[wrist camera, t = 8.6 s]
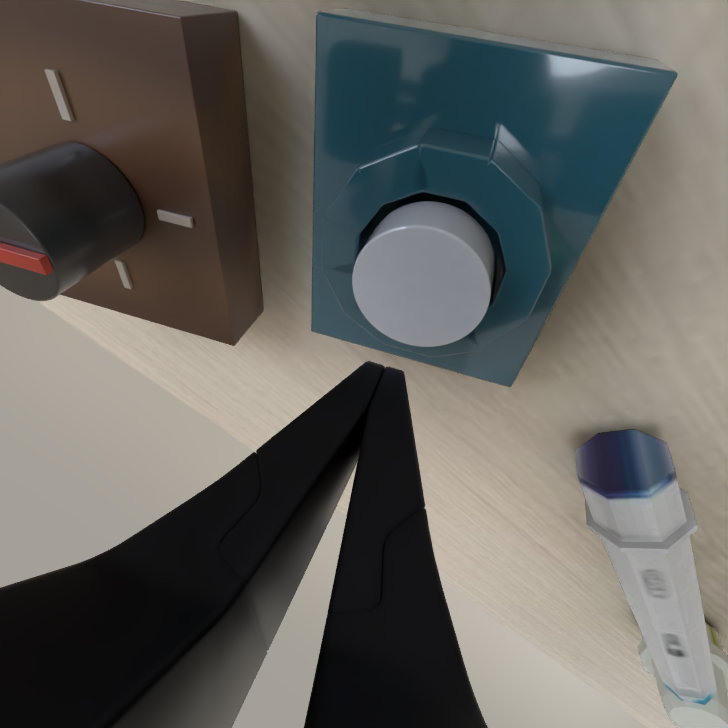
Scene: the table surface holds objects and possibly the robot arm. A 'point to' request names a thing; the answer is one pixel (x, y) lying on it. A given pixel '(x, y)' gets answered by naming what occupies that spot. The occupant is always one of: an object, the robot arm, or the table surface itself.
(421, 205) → the flush button
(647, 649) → the white ridged-cap long part
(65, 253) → the supply dial
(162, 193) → the dial panel
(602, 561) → the table surface
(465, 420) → the table surface
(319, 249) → the teal button mount
